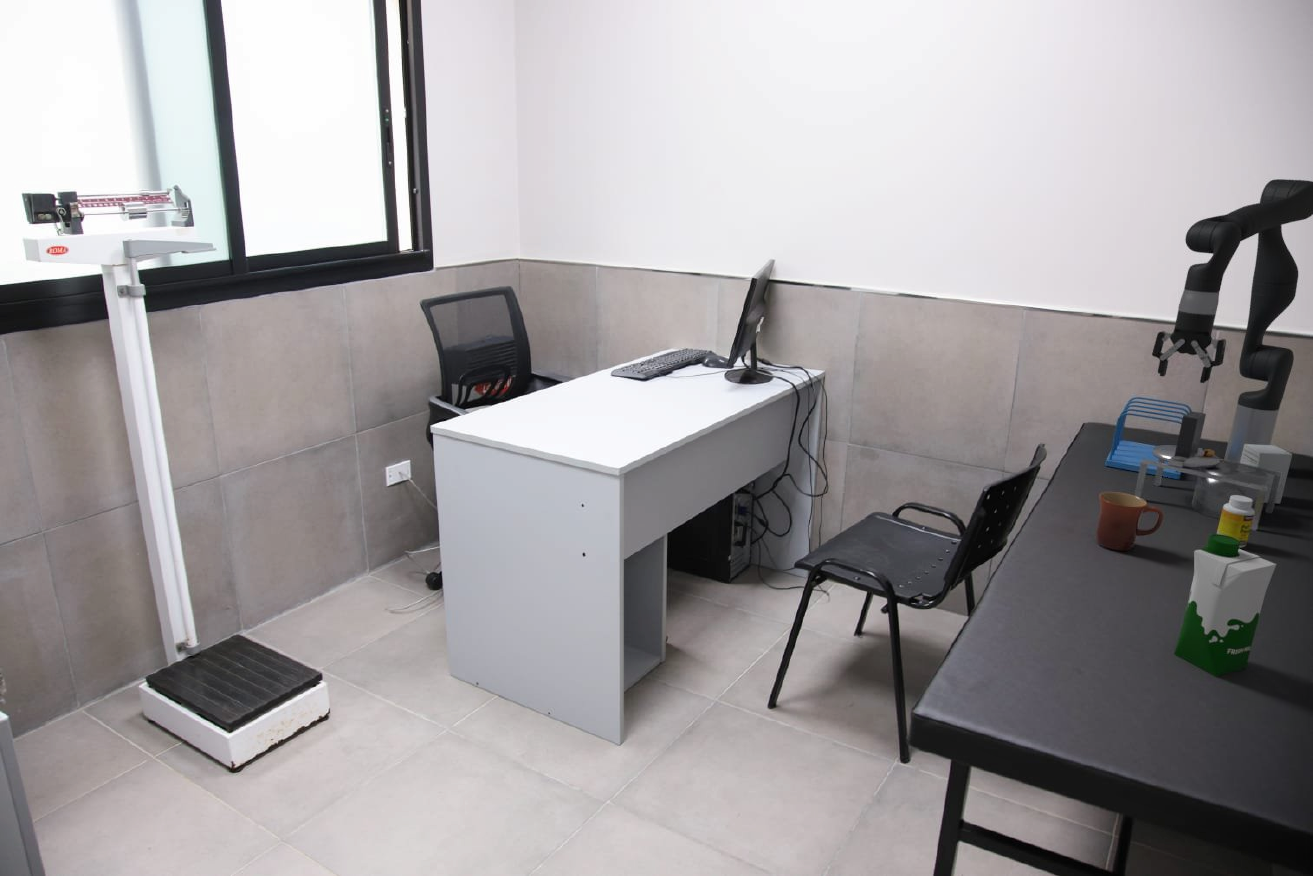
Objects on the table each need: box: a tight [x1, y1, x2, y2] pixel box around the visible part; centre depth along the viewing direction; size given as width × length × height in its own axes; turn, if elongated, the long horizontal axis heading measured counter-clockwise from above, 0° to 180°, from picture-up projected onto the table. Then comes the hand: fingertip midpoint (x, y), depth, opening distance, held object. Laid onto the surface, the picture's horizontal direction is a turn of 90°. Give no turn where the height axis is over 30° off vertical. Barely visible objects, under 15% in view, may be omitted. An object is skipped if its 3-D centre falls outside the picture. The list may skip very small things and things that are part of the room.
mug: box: [1095, 491, 1164, 552], centre depth 178 cm, size 12×9×10 cm
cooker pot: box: [1134, 458, 1282, 532], centre depth 203 cm, size 25×16×10 cm, turn 45°
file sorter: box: [1104, 396, 1192, 480], centre depth 235 cm, size 25×17×15 cm
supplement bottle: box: [1216, 495, 1255, 549], centre depth 182 cm, size 6×6×10 cm
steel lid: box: [1152, 410, 1221, 469], centre depth 204 cm, size 14×16×11 cm
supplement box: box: [1240, 444, 1293, 504], centre depth 210 cm, size 7×7×13 cm
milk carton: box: [1173, 533, 1277, 677], centre depth 134 cm, size 9×9×20 cm
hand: (1182, 379), depth 205 cm, fingers open, 8 cm apart
